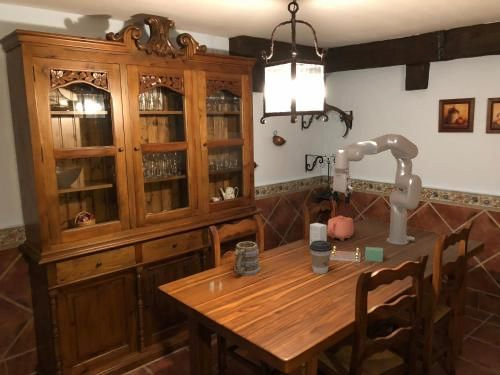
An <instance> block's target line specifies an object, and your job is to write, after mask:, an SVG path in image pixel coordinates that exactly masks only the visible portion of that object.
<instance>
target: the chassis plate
mask: <svg viewBox="0 0 500 375" xmlns="http://www.w3.org/2000/svg"><path fill="white" fill-rule="evenodd" d="M361 256H362V253H361V252H360V247H356V248H355V251H346V250H337V246H336V245H333V246H332V250H331V253H330V260H329V261H345V262H355V263H360V262H361Z"/></svg>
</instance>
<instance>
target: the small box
mask: <svg viewBox="0 0 500 375" xmlns="http://www.w3.org/2000/svg"><path fill="white" fill-rule="evenodd" d="M327 227H328V224H325V223H324V224H323V223H319V222H314V223H311V224H309V246H310V245H311V243H312V242H313V241H317V240H323V241H327V238H328V235H327Z"/></svg>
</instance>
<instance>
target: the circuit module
mask: <svg viewBox="0 0 500 375" xmlns="http://www.w3.org/2000/svg"><path fill="white" fill-rule="evenodd" d="M364 253H365V254H364V255H365V256H364V260H365V261H370V262H383V261H384V259H383V258H384V247H371V246H365V251H364Z"/></svg>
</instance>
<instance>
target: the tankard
mask: <svg viewBox="0 0 500 375" xmlns="http://www.w3.org/2000/svg"><path fill="white" fill-rule="evenodd" d="M235 247H236V248H235V249H234V253H233V254H234V256H235V260H234V263H236V266H234V267H233V271H234V270H235V271H234V272H235V273H236V275H240V274H241V275H242V276H246V275H247V276H251V275H252V276H253V274H254V275H257V274H258V273H259V272H260V271H261V266H259V263H260V258H259V257H258V255H259V254H260V249H259V248H258V243H256V242H255V241H249V240H248V241H240V242H238V243H237V244H235ZM241 275H240V276H241Z"/></svg>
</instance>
